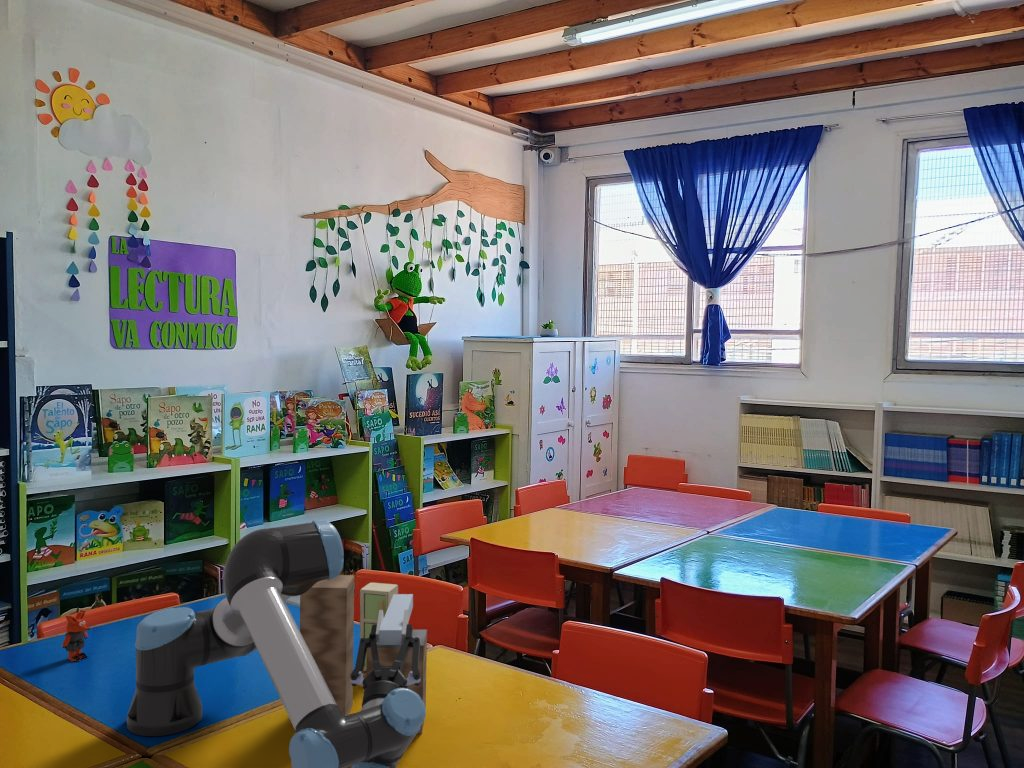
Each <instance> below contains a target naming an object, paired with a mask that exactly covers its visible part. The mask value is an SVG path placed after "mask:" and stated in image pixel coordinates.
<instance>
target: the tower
mask: <svg viewBox="0 0 1024 768" xmlns="http://www.w3.org/2000/svg"><path fill="white" fill-rule="evenodd" d="M299 597H300V598H299V631H300V633H301V635H302V637H303V639H304V641H305V642H306V644H307V646H308V648H309V650H310V652H311V654H312V656H313V658H314V660H315V662H316V664H317V666H318V668H319V670H320V672H321V674H322V676H323V678H324V680H325V682H326V684H327V686H328V688H329V690H330V692H331V694H332V696H333V698H334V700H335V702H336V704H337V706H338V708H339V710H340V711H341V713H342V715H343V716H348V715H350V712H351V710H352V707H353V704H354V703H353V700H354V699H353V693H354V692H353V691H354V690H353V689H354V686H352V684H351V676H350V675H351V673H352V672H353V670H354V624H355V623H354V620H355V619H354V618H355V617H354V615H355V613H354V612H355V575H354V574H353V575H351V574H347V575H346V574H339V575H338V576H337V577H335V578H331V579H330V580H327V579H326V580H322V581H319V582H317V583H316V584H315V585H313V586H312V587H311V588H310V589H309V590H308V591H307V592H305V593H304V594H302V595H299Z"/></svg>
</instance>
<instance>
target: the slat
mask: <svg viewBox="0 0 1024 768" xmlns="http://www.w3.org/2000/svg"><path fill="white" fill-rule="evenodd" d="M413 608H414V594H413V593H409V594H407V593H401V594H400V593H398V594H393V597H392V599H391V602H390V604H389V607H388V609H387V612H386V614H385V617H384V620H383V622H382V625H381V627H380V629H379V645H402V628H403V618H404V610H408V616H409V619H410V618H411V615H412V611H413ZM409 621H410V620H409ZM409 621H408V623H409Z"/></svg>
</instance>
